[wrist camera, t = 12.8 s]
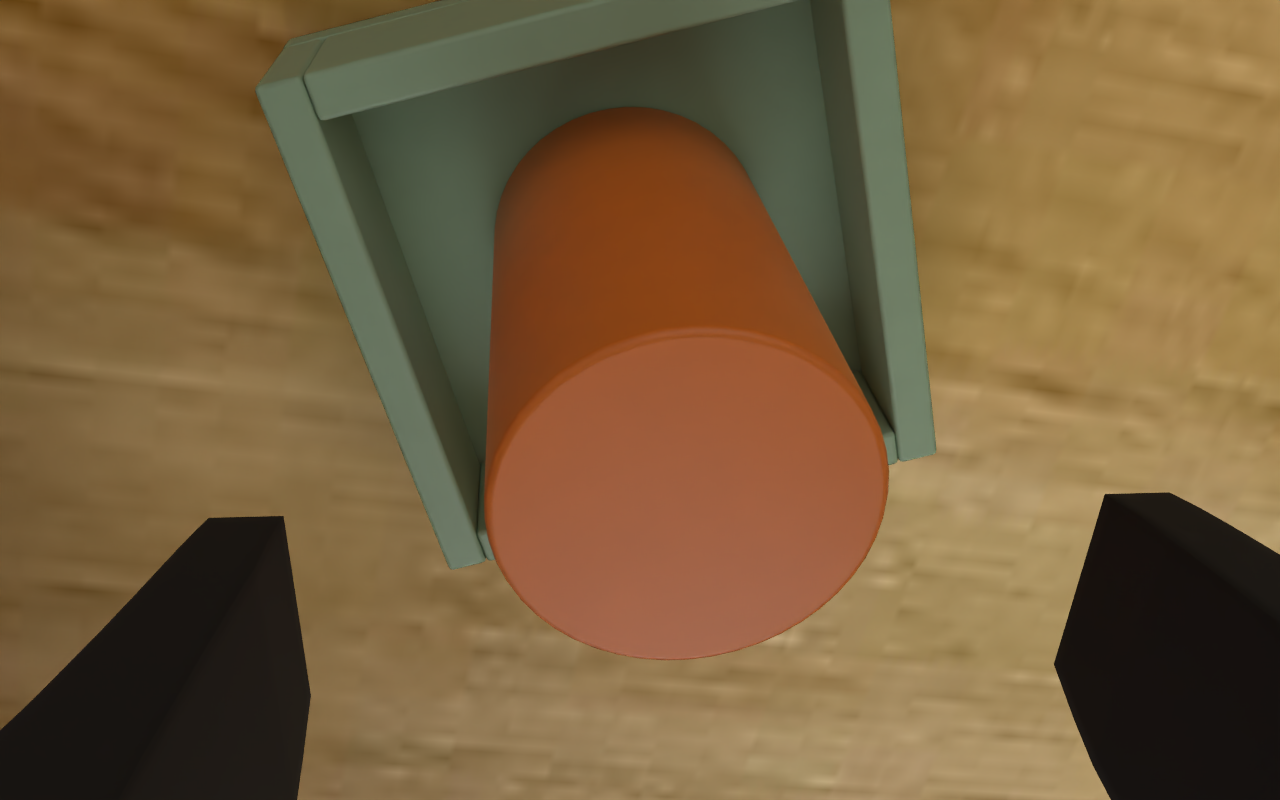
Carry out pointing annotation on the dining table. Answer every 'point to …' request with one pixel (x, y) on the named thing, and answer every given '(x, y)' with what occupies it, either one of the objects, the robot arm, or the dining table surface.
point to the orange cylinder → (665, 400)
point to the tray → (531, 109)
